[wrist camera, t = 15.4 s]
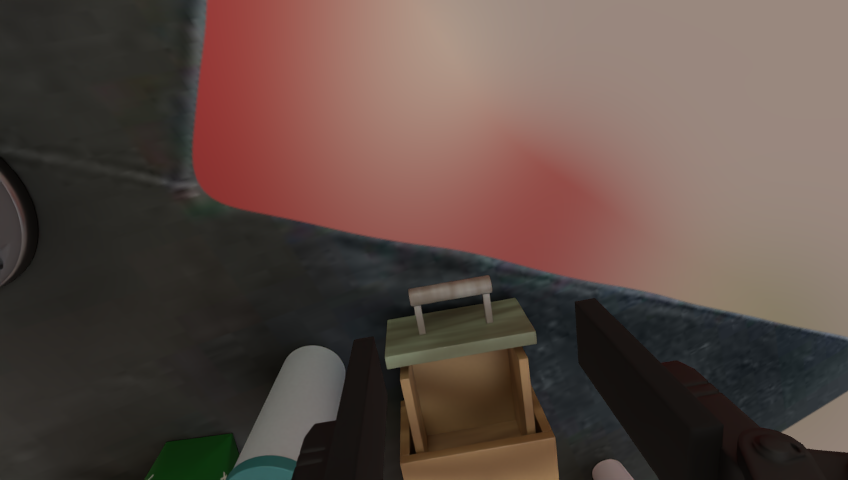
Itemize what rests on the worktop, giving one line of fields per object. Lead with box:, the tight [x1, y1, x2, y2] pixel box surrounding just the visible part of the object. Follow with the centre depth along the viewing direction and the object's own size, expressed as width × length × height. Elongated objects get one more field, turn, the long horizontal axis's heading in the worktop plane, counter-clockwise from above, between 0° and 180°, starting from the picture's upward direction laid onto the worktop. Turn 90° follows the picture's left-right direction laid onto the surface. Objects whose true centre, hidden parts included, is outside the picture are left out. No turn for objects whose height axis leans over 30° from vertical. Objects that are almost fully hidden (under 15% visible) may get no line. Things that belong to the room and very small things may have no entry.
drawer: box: [385, 275, 537, 454], centre depth 38 cm, size 18×13×6 cm
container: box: [226, 345, 346, 480], centre depth 35 cm, size 7×7×15 cm
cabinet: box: [400, 386, 559, 480], centre depth 42 cm, size 15×14×8 cm
